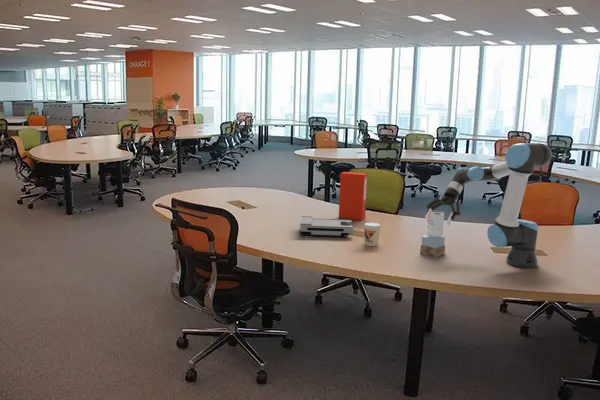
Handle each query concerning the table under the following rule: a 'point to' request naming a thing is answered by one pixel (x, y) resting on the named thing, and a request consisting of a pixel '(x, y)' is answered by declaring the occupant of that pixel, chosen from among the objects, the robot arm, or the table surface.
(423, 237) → the grey-blue top block
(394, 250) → the table surface
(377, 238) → the coffee cup
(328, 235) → the game console
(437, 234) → the ink box
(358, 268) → the table surface
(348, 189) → the file binder
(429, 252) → the walnut base block
